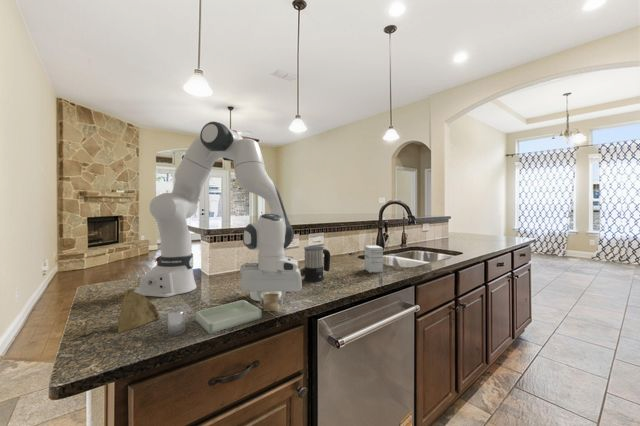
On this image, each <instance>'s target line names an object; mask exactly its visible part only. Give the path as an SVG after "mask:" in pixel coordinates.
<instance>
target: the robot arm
mask: <svg viewBox="0 0 640 426" xmlns="http://www.w3.org/2000/svg"><path fill="white" fill-rule="evenodd" d="M184 153H185V154H184V155H183V157H182V158H181V161H180V163H179V165H178V167H177V169H176V171H175V173H174V179H175V180H174V186H173V188H172V191H171V192H164V193H163V192H162V193H160V194H158V195H156V196H155V197H154V198H152V200H151V201H150V203H149V212H150V214H151V215H152V216H153V218H154V219H155V222H156V224H157V228H158V232H159V238H160V255H159V256H158V257H156V258H154V262H155V263H156V265H155V266H154V267H152V268H151V269H150V270H148V271H147V272H146V273H145V274H143V276H142V277H141V280H140V282H139V286H138V287H137V288H134V290H132V291H133V292H137V293H139V294H141V295H144V296H145V297H158V298H159V297H162V298H168V297H172V296H176V295H181V294H185V293H189V292H192V291H194V290H196V289H197V283H196V280H195V276H194V269H193V267H194V254H193V252H192V251H193V250H192V243H193V242H192V233H191V232H190V229H189V227H188V223H187V219H189V218H191V217H192V216H194V214H196V212H197V211H198V207H199V206H198V203H199V200H200V197H201V193H202V190H203V187H204V185H205V183H206V181H207V179H208V177H209V175H210V173H211V170H212V168H213V166H214V164H215V163H216V162H217V160H218V159H221V158H222V159H223V160H224V161H229V162H233V170H234V175H235V180H236V182H237V184H238V185H239V186H240V187H241V188H242V189H244V190H245V191H247V192H249V193H251V194H254V195H257V196H258V197H260V198H262V199H264V200H265V202H266V203H267V204H268V208H269V212H270V213H264V214H261V215H260V216H259V217H258V220H256V221H254V222H251V223H248V225H246V226H245V227H244V229H243V231H242V242H243V245H244V246H246V248H247V249H249V250H253V251H258V254H257V262H258V263H257V262H252V263H251V262H250V263H249V262H246V263H244V264H242V265H240V268H239V272H240V273H239V274H240V276H241V277H240V290H241V291H242V292H243V293H245V292H246V293H247V292H249V293H250V292H257V296H258V298H259V299H260V301H259V304H260V306H261V305H264V298H263V297H262V295H261V293H262V292H281V294H282V295H281V297H280V298H278V304H279V305H283V303H284V298H285V296H286V294H287V292H289V293H290V292H291V293H292V292H300V291H301V290H302V288H303V287H302V286H303V283H302V274H301V273H300V270H301V269H299V262H298V260H296V259H295V258H294V259H291V258H288V257H285V256H286V252H285V249H287V248H288V247H289V246H290V245H291V243H292V242H293V240H294V238H295V237H294V236H295V233H294V229H293V227H292V224H291V223H290V220H289V218H288V215H287V213H286V210H285V206H284V204H283V200H282V196H281V195H280V191H279V189H278V186H277V183H275V182H274V181H273V180H272V179H271V178H270V176H269V175H268V172H267V171H266V167H265V161H264V157H263V154H262V151H261V147H260V145H259V143H258V142H257V141H256V140H255V139H252V138H248V137H247V138H246V137H245V138H244V137H243V136H242V135H240V134H239V133H238V132H237V131H236V130H234V129H231V128H230V127H227V126H226V125H225V124H223V123H221V122H218V121H209V122H207V123H205V125H204V126H202V128H201V131H200V134H199V136H197V137H195V139H194V140H193V141H192V142H191V144H190V145H189V147H188V149H187V150H186V151H185V152H184Z"/></svg>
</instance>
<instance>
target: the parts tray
mask: <svg viewBox="0 0 640 426" xmlns="http://www.w3.org/2000/svg"><path fill="white" fill-rule="evenodd" d="M262 311H263V310H262V309H261V308H259V307H257V306H256V305H253V304H252V303H250V302H248V301H246V300H245V299H240V300H237V301H233V302H230V303H229V302H228V303H224V304H222V305H217V306H213V307H207V308H205V309H200V310H196V311H194V320H195V321H196V323H197V324H199V325H200V326H201V327H202V328H203V329H204V330H205V331H206V332H207V333H208V334H209V335H211V334H215V333H219V332H221V330H222V331H224V329H225V330H227V329H231V328H234V327H238V326H241V325H245V324H247V323H250V322H254V321H257V319H258V320H260V318H261V319H262V318H263V317H262V316H263V315H262V314H263V313H262ZM244 323H245V324H244Z"/></svg>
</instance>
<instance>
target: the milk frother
mask: <svg viewBox="0 0 640 426" xmlns="http://www.w3.org/2000/svg"><path fill="white" fill-rule="evenodd" d="M303 249H304V267H303V268H301V269H299V270H300V273H301V276H304V278H303V280H304V281H306V282H309V283H312V282H313V283H317V282H322V281H324V279H325V278H324V271H325V272H327V273H328V272H330V267H331V265H330V264H331V253H330V250H328V249H326V248H325V247H324V246H319V245H307V246H304V247H303Z"/></svg>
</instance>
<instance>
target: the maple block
mask: <svg viewBox="0 0 640 426" xmlns="http://www.w3.org/2000/svg"><path fill="white" fill-rule="evenodd" d="M278 298H279V292H266V293H265V295H264V304H263V312H264V311H275V312H274V313H276V312H277V313H278V311H279V309H280V304H278Z"/></svg>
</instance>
